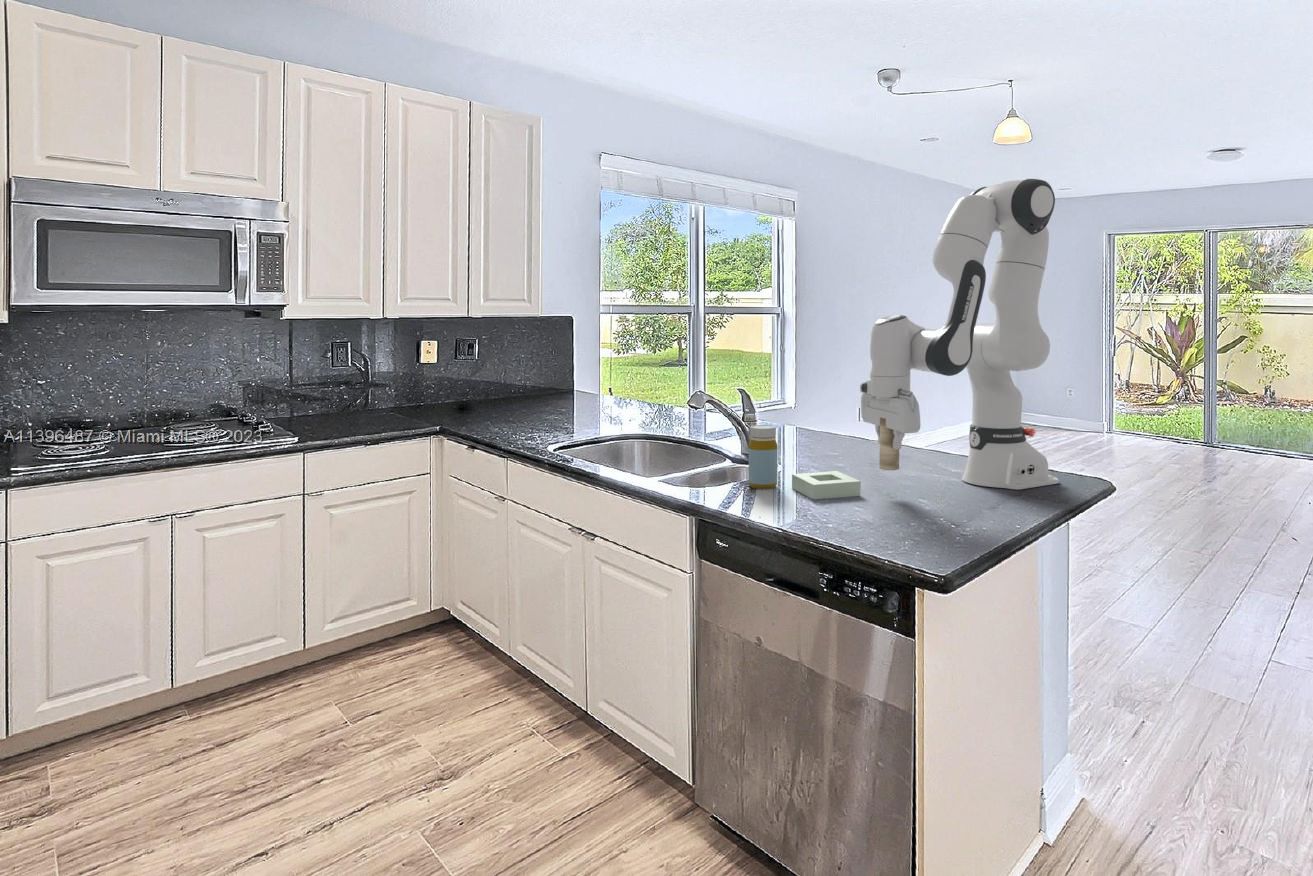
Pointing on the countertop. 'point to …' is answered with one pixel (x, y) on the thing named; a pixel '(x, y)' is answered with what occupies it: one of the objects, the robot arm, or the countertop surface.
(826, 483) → the socket
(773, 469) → the bottle
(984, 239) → the robot arm
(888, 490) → the countertop surface
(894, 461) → the peg
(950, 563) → the countertop surface
